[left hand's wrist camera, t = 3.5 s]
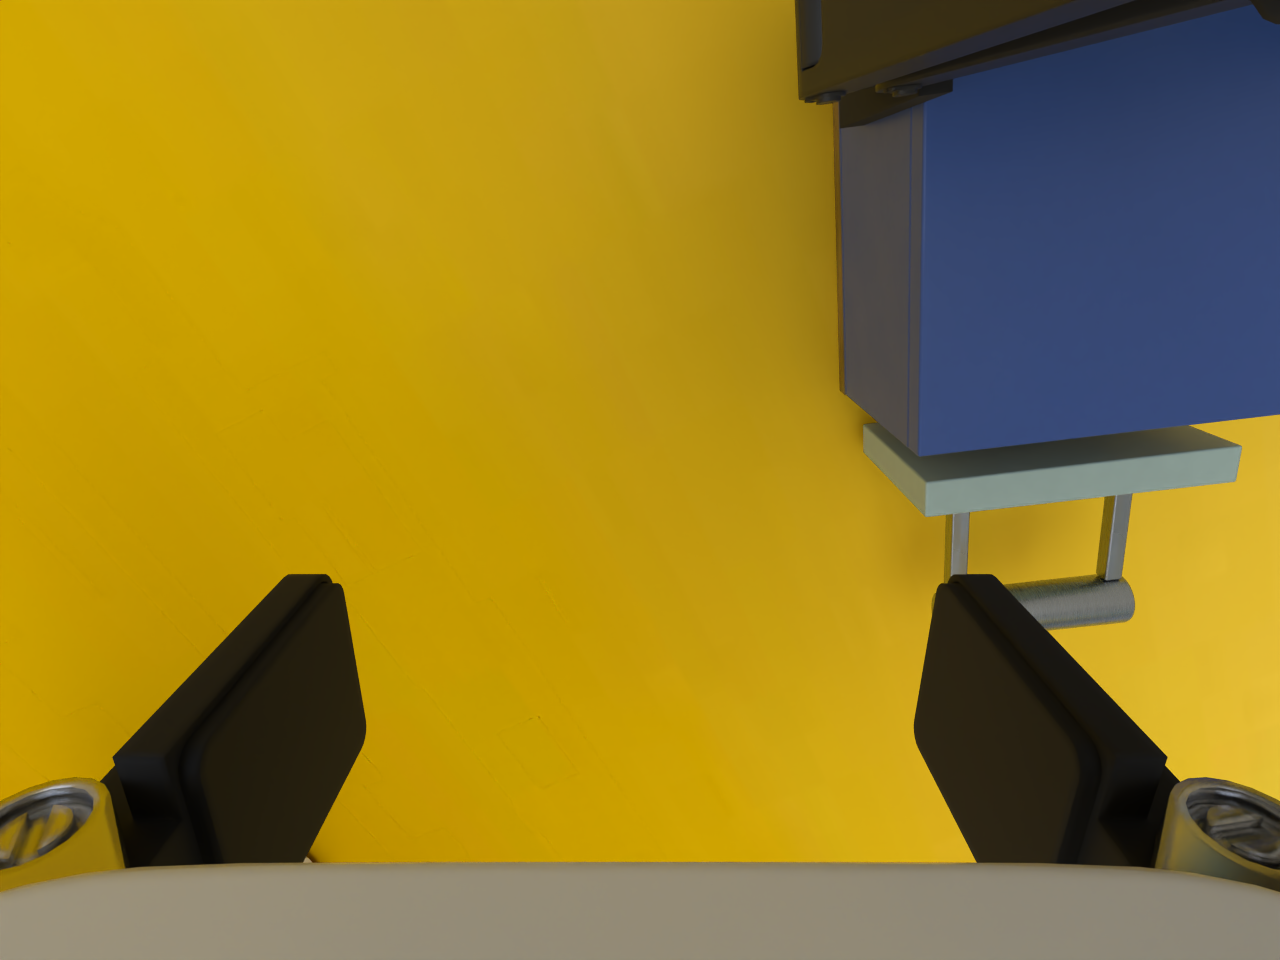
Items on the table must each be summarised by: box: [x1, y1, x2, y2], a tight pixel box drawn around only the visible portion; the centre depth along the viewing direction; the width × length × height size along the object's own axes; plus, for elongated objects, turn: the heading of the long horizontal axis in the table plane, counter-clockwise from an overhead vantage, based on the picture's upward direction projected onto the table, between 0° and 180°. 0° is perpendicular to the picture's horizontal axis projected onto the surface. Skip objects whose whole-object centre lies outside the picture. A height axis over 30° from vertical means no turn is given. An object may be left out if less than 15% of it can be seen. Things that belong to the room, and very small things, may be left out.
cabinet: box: [833, 5, 1280, 456], centre depth 22 cm, size 14×11×8 cm
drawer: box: [863, 423, 1242, 631], centre depth 24 cm, size 19×10×6 cm, turn 7°
